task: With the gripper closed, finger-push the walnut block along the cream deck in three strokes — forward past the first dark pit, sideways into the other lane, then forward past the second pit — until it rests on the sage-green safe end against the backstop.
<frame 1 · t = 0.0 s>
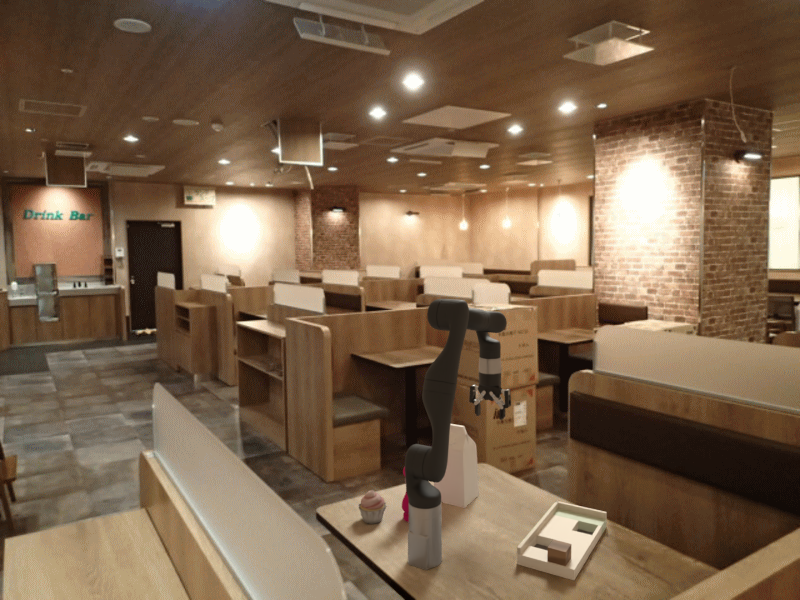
hand: (489, 417, 211), 29 cm above the table, fingers open, 8 cm apart
milk: (456, 498, 217), on the table
cupcake: (372, 520, 202), on the table
block: (559, 559, 170), point 3 cm above the table, touching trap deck
pepper mill: (413, 519, 202), on the table
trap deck: (564, 544, 184), on the table
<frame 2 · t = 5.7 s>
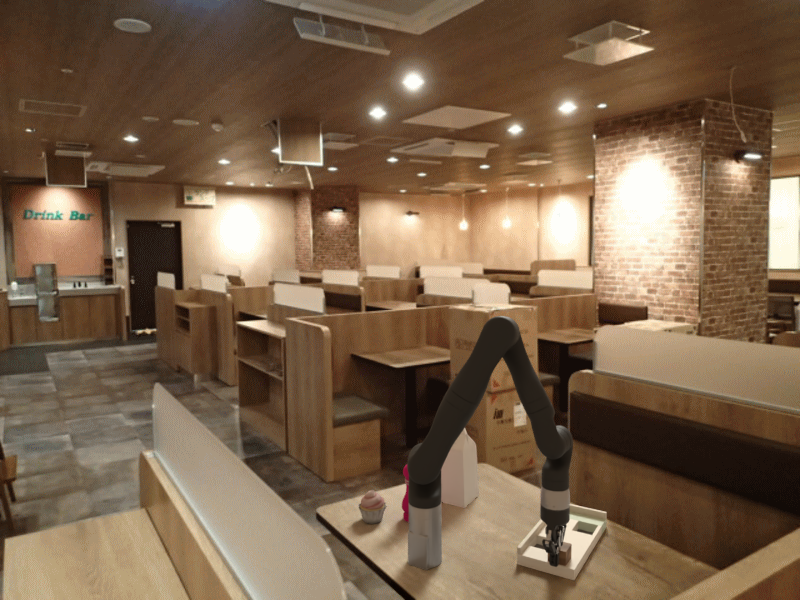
hand: (554, 564, 166), 4 cm above the table, fingers closed
block: (559, 559, 170), point 3 cm above the table, touching gripper, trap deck
everything else where it was.
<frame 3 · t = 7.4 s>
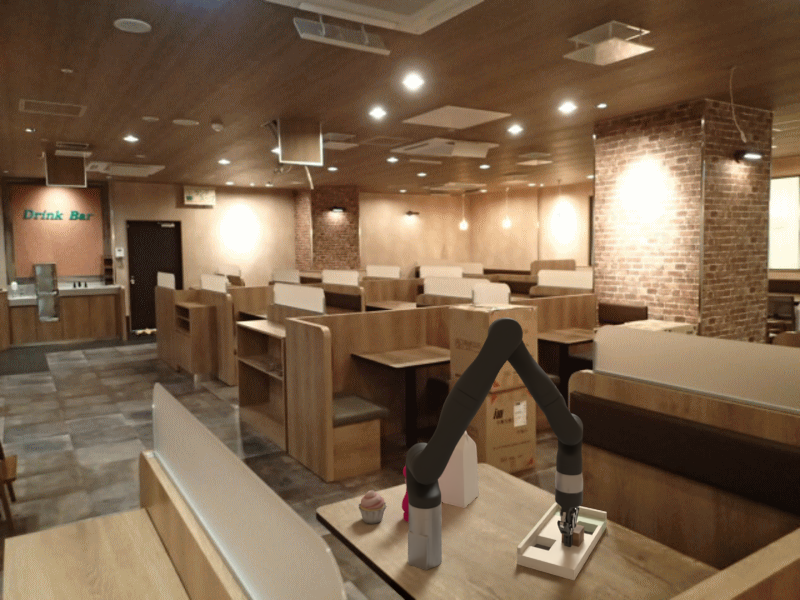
hand: (568, 545, 176), 4 cm above the table, fingers closed
block: (572, 541, 180), point 3 cm above the table, touching gripper, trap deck
everything else where it was.
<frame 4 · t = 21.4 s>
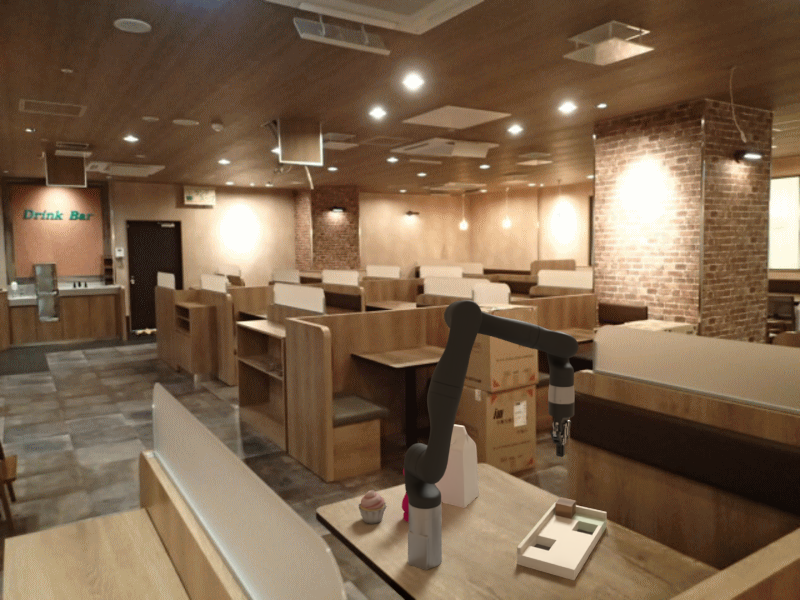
hand: (560, 455, 187), 25 cm above the table, fingers closed
block: (565, 513, 197), point 3 cm above the table, touching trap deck
everything else where it was.
at the end: block inside the target area on the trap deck (3.8 cm from its centre), point 3.0 cm above the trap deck's base; block tilted 0°; block touching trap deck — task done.
